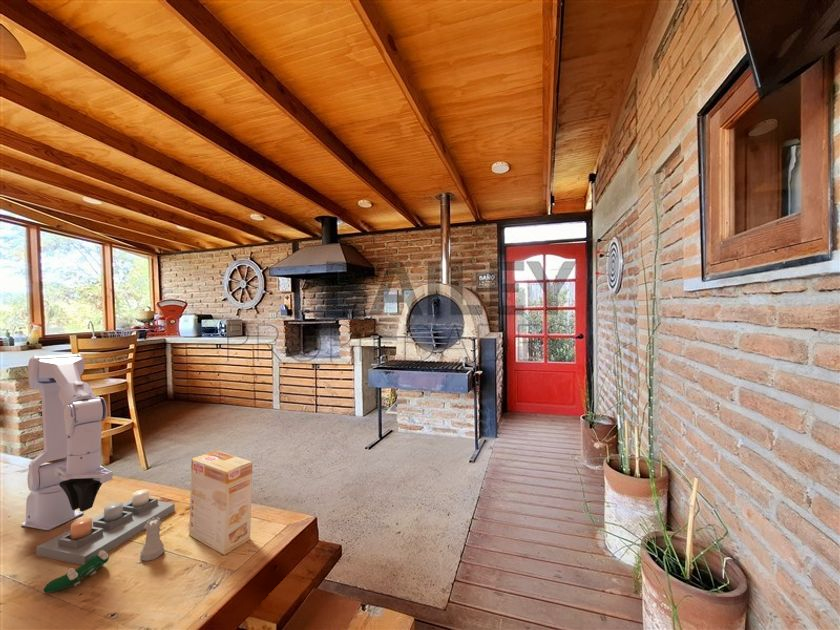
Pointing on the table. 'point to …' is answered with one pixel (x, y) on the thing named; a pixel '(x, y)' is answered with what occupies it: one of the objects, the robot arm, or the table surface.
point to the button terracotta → (81, 528)
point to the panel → (104, 533)
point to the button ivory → (140, 498)
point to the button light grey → (113, 512)
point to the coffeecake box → (220, 500)
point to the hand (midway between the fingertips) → (82, 508)
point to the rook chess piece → (152, 541)
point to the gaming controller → (77, 573)
